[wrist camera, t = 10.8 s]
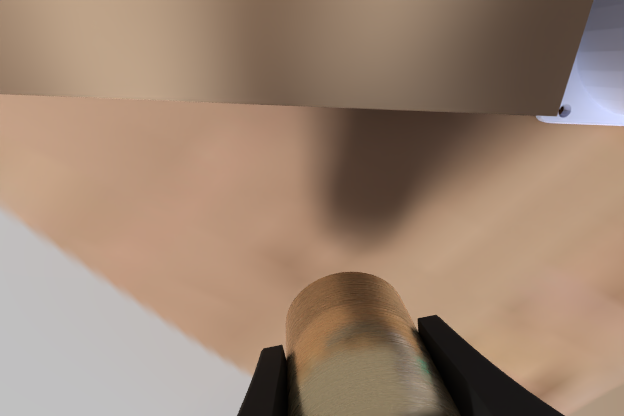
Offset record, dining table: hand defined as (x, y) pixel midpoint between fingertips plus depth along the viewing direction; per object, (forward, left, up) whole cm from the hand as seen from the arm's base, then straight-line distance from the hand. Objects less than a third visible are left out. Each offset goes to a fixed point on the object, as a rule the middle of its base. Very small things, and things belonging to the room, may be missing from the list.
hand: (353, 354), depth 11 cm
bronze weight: (0, 0, -2) cm, 2 cm away
